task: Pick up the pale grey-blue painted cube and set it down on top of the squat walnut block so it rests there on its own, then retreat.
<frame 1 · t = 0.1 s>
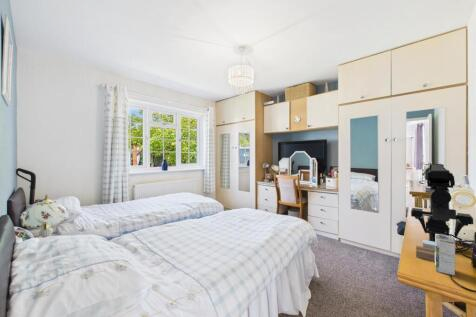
hand: (439, 235, 89), 15 cm above the table, fingers open, 9 cm apart
syrup box: (444, 271, 88), on the table
painted cube: (429, 252, 103), on the table
walnut block: (425, 257, 100), on the table
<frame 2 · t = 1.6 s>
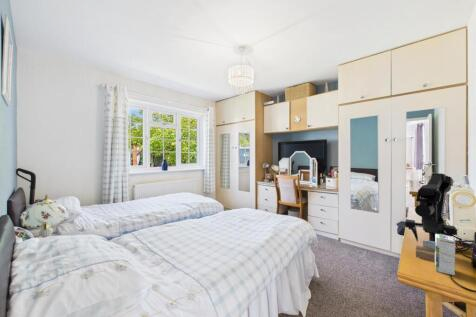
hand: (429, 243, 103), 4 cm above the table, fingers open, 9 cm apart
nothing on the table moved.
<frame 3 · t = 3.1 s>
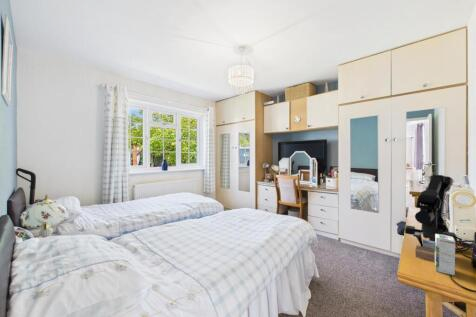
hand: (429, 250, 103), 1 cm above the table, fingers closed on painted cube, 5 cm apart
painted cube: (429, 252, 103), on the table, touching gripper
everything else where it was.
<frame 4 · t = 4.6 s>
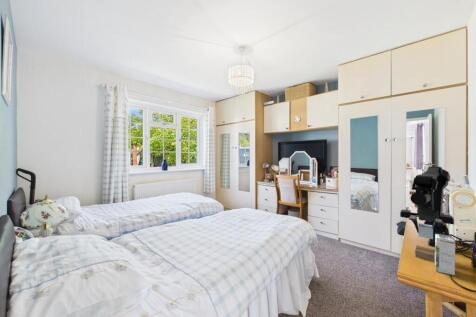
hand: (425, 234, 99), 11 cm above the table, fingers closed on painted cube, 5 cm apart
painted cube: (425, 236, 99), point 10 cm above the table, touching gripper
everything else where it was.
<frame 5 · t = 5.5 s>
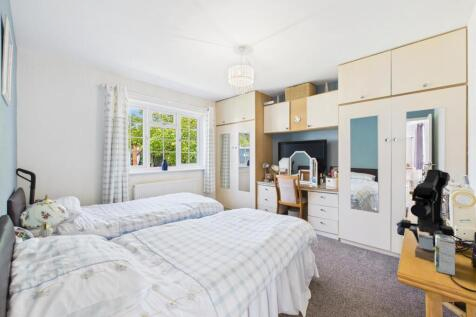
hand: (425, 244, 99), 6 cm above the table, fingers closed on painted cube, 5 cm apart
painted cube: (425, 246, 99), point 5 cm above the table, touching gripper
everything else where it was.
when the fingers open (5 cm above the table, at t = 6.3 s): painted cube drops 1 cm, resting on walnut block.
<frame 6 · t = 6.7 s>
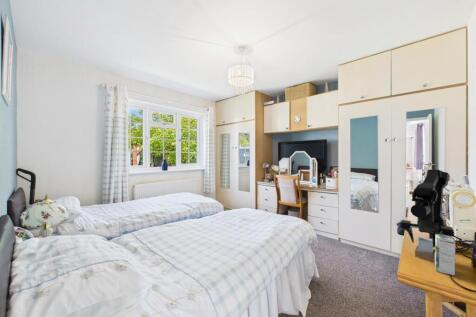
hand: (425, 245, 99), 5 cm above the table, fingers open, 9 cm apart
painted cube: (425, 249, 100), point 3 cm above the table, touching walnut block
walnut block: (425, 257, 100), on the table, touching painted cube
everything else where it was.
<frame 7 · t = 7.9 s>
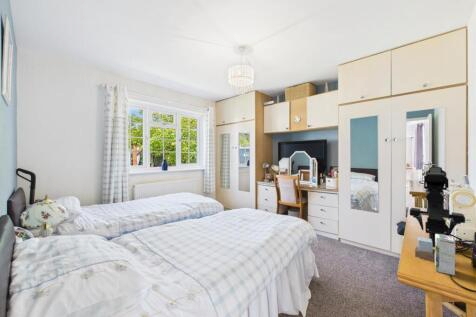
hand: (435, 232, 99), 12 cm above the table, fingers open, 9 cm apart
painted cube: (424, 249, 100), point 3 cm above the table
walnut block: (425, 257, 100), on the table
everything else where it was.
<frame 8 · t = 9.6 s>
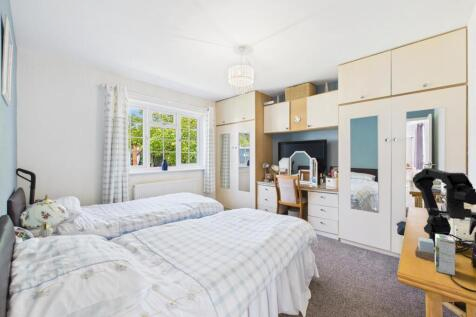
hand: (455, 232, 97), 12 cm above the table, fingers open, 9 cm apart
nothing on the table moved.
at the end: painted cube 0.2 cm off-centre on the walnut block, point 3.5 cm above the walnut block's base; painted cube tilted 1°; the gripper is holding nothing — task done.
